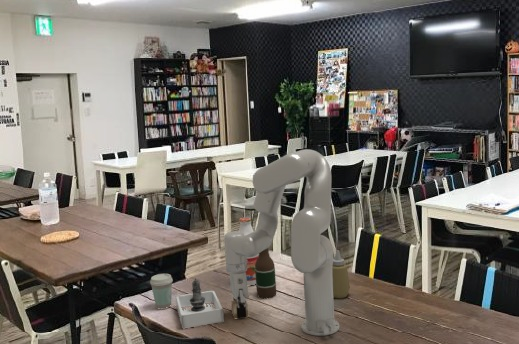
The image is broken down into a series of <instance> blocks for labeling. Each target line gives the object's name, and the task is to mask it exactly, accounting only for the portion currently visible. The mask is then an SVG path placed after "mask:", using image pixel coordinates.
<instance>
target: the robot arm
mask: <svg viewBox="0 0 519 344" xmlns="http://www.w3.org/2000/svg"><path fill="white" fill-rule="evenodd" d="M303 178H306V183H305V187H304V203H303V208H302V209H301V210H299V211H298V212H297V213H296V214H295V215H294V217H293V218H292V221H291V227H290V229H291V230H290V259H291V263H292V265H293V267H294V268H295V269H296V270H297V271H298V272H300V274H301V273H302V274H303V291H304V292H303V293H304V294H303V295H304V311H305V320H304V321H303V322H302V323H301V330H302V331H303V332H304V333H305V334H308V335H311V336H317V337H318V336H320V337H323V336H324V337H325V336H329V335H332V334H335V333H337V332H338V331H339V329H340V323H339V321H337V320H336V319H335V306H334V305H335V304H334V297H333V278H332V266H333V259H334V247H333V244H332V241H331V240H330V239H329V238H328V237H327V236H325V235H323V234H322V233H324V232H325V231H327V229H329V227H330V225H331V220H332V219H331V218H332V217H331V216H332V170H331V167H330V164H329V162H328V160H327V159H326V157H325V156H324V155H323V154H321V153H320V152H318V151H317V150H313V149H300V150H297V151H294V152H291V153H288V154H285V155H283V156H282V157H280V158H277V160H274V161H272V162H270V163H269V164H267V165H265V166H263V167H260V168H258V169H257V170H256V172H255V173H254V174H253V177H252V185H253V189H254V190H255V191H256V194H255V198H254V201H253V205H252V206H253V208H254V209H255V211H256V212H258V213H259V217H258V221H257V222H258V223H257V225H256V228H255V230H253V231H254V232H252V233H250V234H248V235H244V233H242V232H239V230H238V231H236V230H235V231H229V232H226V233H225V234H224V236H223V245H224V255H225V256H224V257H225V269H226V271H225V272H226V273H228V275H229V288H230V293H231V295H232V297H233V299H232V301H235V300H237V318H239V319H246V318H247V317H246V306H245V301H246V299H249V289H248V287H249V286H247V278H246V273H245V271H247V258H246V257H253V256H256V255H257V254H259V253H260V252H262V251H263V250H265V249H267V248H268V249H269V247H270V246H271V244H272V243H273V241H274V239H275V238H274V237H275V235H276V232H277V229H278V224H279V220H278V219H279V218H278V217H279V215H278V210H279V207H280V203H281V200H282V197H283V195H284V192H285V190H286V186H287V185H289V184H291V183H293V182H296V181H298V180H300V179H303ZM239 301H240V302H239ZM245 317H246V318H245Z"/></svg>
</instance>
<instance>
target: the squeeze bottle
mask: <svg viewBox="0 0 519 344" xmlns="http://www.w3.org/2000/svg"><path fill="white" fill-rule="evenodd" d="M332 278H333V298H335V299H344V298H347V297H348V295H349V291H350V288H351V286H350V285H351V284H350V280H349V279H350V278H349V271H348V266H347V264H346V263H345V259H344V258H342V256H341V252H340V250H337V249H336V251H335V255H334V258H333V266H332Z"/></svg>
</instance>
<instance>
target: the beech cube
mask: <svg viewBox="0 0 519 344" xmlns="http://www.w3.org/2000/svg"><path fill="white" fill-rule="evenodd" d="M230 302H231V303H230V304H231V315H232V314H233V315H232V316H234V317H233V318H237V300H235V301H234V300H231V301H230ZM239 302H240V301H239ZM248 305H249V304H248V303H247V301H246V300H245V306H246V318H249V307H248Z"/></svg>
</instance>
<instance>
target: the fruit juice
mask: <svg viewBox="0 0 519 344" xmlns="http://www.w3.org/2000/svg"><path fill="white" fill-rule="evenodd" d="M238 220H239V224H240V225H239V228H238V231H239V232H242V233H244V235H248V234H250V233H252V232H254V231H255V230H254V229H253V226H252V219H251V217H247V216H245V217H240V218H239V219H238ZM258 257H259V254H257V255H256V256H253V257H246V258H247V271H245V273H246V278H247V285H254V286H256V285H255V284H256V274H255V263H256V260H257V259H258Z"/></svg>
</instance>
